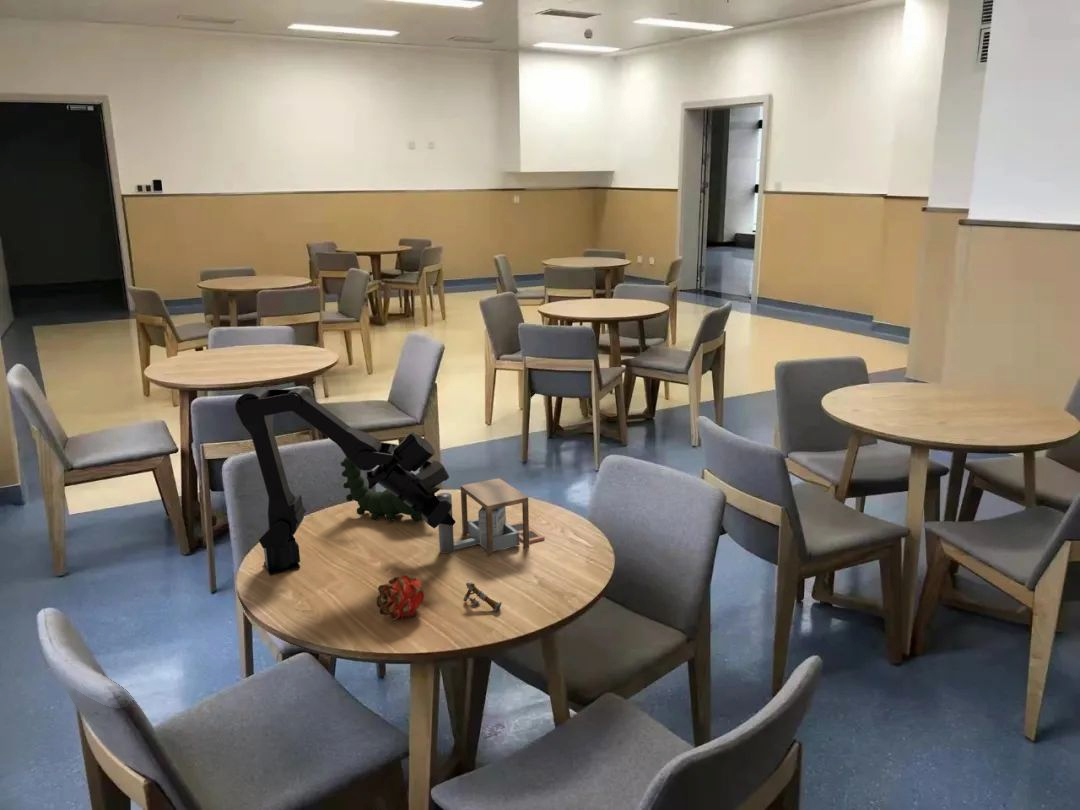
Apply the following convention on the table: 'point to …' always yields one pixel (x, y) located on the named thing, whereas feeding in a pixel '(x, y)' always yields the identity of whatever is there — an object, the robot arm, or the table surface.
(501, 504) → the miniature wooden table
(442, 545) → the grey post with tray
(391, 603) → the dragon fruit
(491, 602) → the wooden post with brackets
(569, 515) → the table surface
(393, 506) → the toy figurine
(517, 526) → the pit plate
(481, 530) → the medicine box
